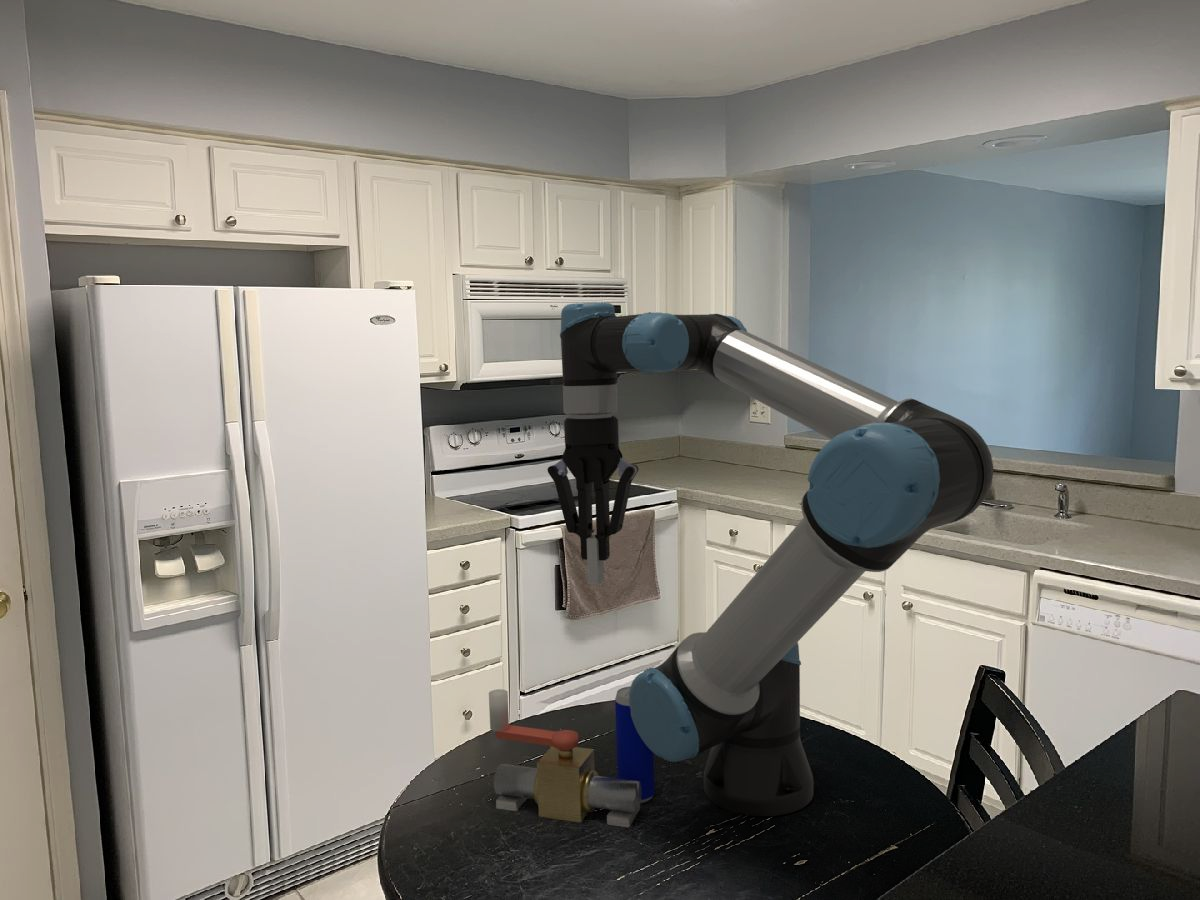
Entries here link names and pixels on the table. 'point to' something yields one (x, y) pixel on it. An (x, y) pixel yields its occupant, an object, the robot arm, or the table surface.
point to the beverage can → (632, 748)
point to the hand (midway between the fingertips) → (596, 582)
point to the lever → (524, 734)
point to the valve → (568, 788)
